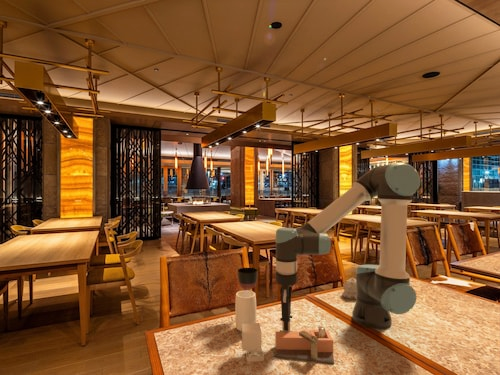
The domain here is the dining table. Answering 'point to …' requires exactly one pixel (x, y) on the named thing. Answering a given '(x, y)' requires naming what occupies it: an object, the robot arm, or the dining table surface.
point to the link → (303, 341)
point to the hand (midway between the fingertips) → (286, 337)
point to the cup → (245, 308)
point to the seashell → (350, 289)
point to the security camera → (252, 341)
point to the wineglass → (247, 278)
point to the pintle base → (307, 354)
